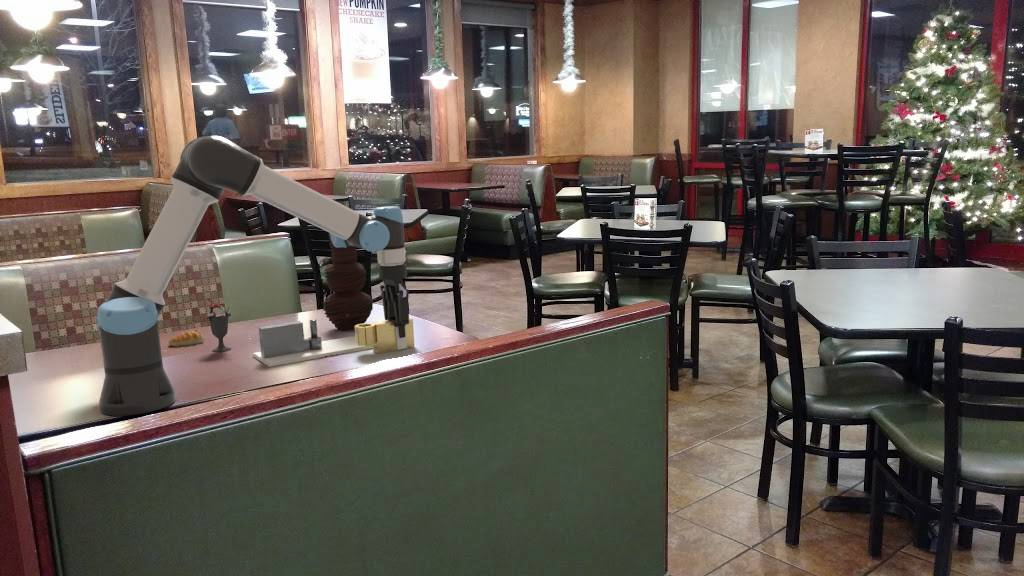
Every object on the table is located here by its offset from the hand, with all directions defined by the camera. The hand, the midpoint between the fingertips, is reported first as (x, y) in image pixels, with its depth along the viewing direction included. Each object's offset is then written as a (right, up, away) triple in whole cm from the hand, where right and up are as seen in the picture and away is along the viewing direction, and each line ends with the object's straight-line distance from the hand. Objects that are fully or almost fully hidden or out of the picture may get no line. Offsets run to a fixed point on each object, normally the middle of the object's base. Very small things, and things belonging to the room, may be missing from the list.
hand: (398, 347), depth 219 cm
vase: (-19, +4, +28) cm, 34 cm away
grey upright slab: (-28, -1, -4) cm, 28 cm away
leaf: (-3, -1, -2) cm, 4 cm away
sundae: (-51, -1, +6) cm, 51 cm away
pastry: (-65, 0, +16) cm, 67 cm away
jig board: (-23, -1, -1) cm, 23 cm away
